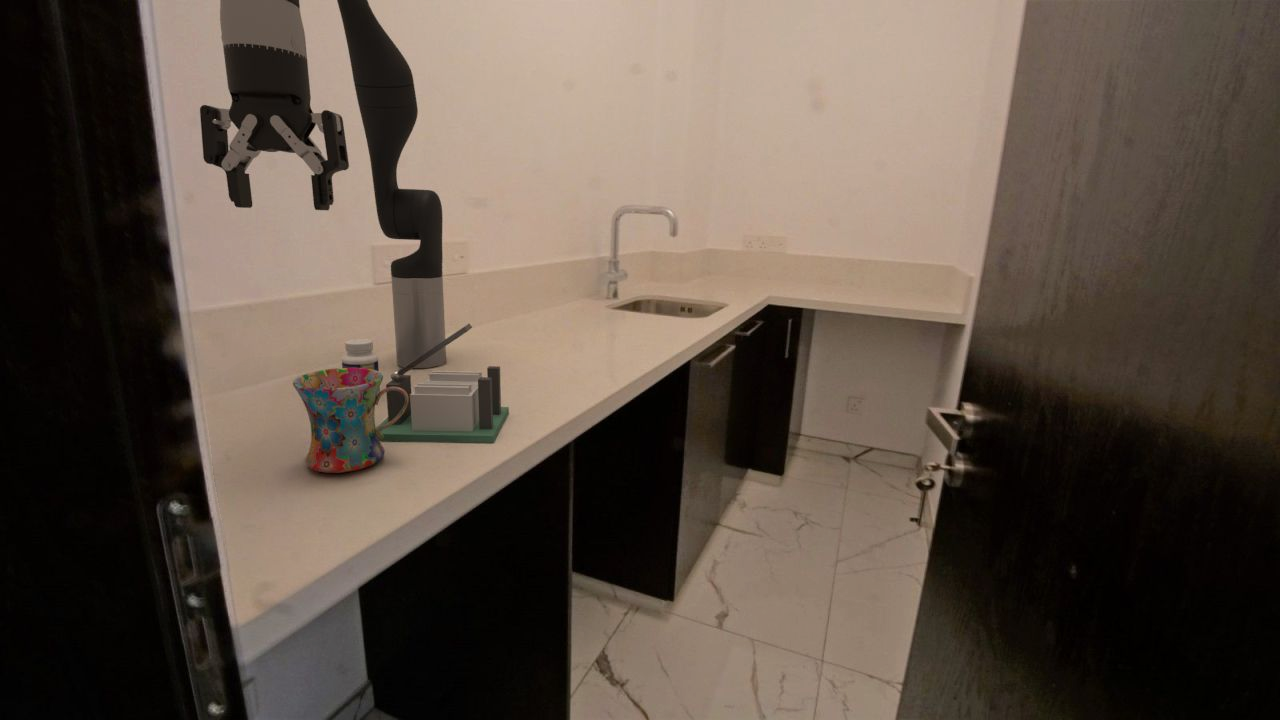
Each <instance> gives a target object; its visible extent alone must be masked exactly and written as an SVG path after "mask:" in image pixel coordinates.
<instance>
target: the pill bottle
mask: <svg viewBox="0 0 1280 720" xmlns="http://www.w3.org/2000/svg"><path fill="white" fill-rule="evenodd" d="M344 344H345V352H347V354H345V355H343V356H342V359H341V366H342V367H341V368H367V369H373V370H377V371H379V372H380V370H379V357H378V355H377V354H376V353H374V352H372V351H373V350H374V344H373V340H372V339H366V338H365V339H364V338H361V339H359V338H358V339H357V338H356V339H349V340H346V341H345V343H344ZM380 392H381V386H380V387H379V390H378V394H379V393H380ZM378 394H377V396H378Z"/></svg>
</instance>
